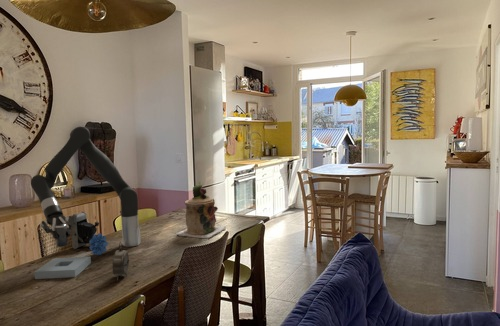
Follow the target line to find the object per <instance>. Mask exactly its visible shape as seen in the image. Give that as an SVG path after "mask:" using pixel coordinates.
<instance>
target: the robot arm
mask: <svg viewBox="0 0 500 326" xmlns="http://www.w3.org/2000/svg"><path fill="white" fill-rule="evenodd" d="M78 150H80V152H82V154H84V156H85V157H86V158H87V161H88V162H90V164H91V165H92V166H93V168H94V169H95V170H96V172H97V173H98V174H99V175H100V177H102V179H103V180H105V182H106V183H107V184H108V185H110V187H112V189H113V190H114V191H115V193H116V195H117V196H118V197H119V200H120V216H121V217H120V220H121V235H122V246H123V247H127V248H128V247H136V246H139V245H140V244H141V243H142V242H141V241H142V240H141V227H140V226H139V213H138V212H139V201H138V200H139V197H138V193H137V191H136V190H135V189H134V188H132V187H131V185H129V184H128V183H127V182H126V181H125V180H124V178H123V177H122V175H121V174H120V172H119V170H118V169H117V167H116V166H115V164H114V163H113V161H111V159H110V158H109V157H108V156H107V154H105V153H104V152H103V151H101V150H100V149H99V148H98V147H97V146H96V145H95V144H94V143H93V141H92V140H91V133H90V130H89V128H87V127H85V126H77V127H75V128H74V129H72V130H71V131H70V134H69V138H68V140H67V141H66V143H65V144H64V146H63V147H62V148H61V149H60V150H59V151H58V152H57V153H56V154H55V155H54V156H53V158H52V159H51V160H50V161H49V162H48V164H47V165H46V166H45V168H44V172H45V175H41V174H36V175H33V177H31V180H30V186H31V188H32V190H33V191H34V193H35V194H36V197H38V200H39V203H40V205H41V209H42V212H43V215H44V217H45V219H46V220H42V221H41V222H40V226H41V228H42V230H44V232H45V233H46V234H51V236H52V238H53V239H54V240H55V241H56V240H57V239H58V235H57V233H56V231H55V224H59V223H66V227H67V238H69V237H70V236H71V235H72V231H71V227H72V215H70V216H66V215H64V213H63V210H62V208H61V206H60V204H59V201H58V199H57V197H56V194H55V193H54V191H53V190H52V188H53V186H54V185H55V182H56V181H57V178H58V176H59V174H60V173H61V172H62V171H63V170H64V168H65V167H66V165H67V164H68V163H69V161H70V160H71V159H72V157H73V156H74V155H75V153H77V151H78ZM49 226H50V227H51V228H50V227H49Z"/></svg>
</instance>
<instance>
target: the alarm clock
mask: <svg viewBox="0 0 500 326" xmlns="http://www.w3.org/2000/svg"><path fill="white" fill-rule="evenodd" d="M121 244H122V241H119V242H118V245H119V246H118V247H119V249H118V250H117V249H116V251H115V252H114V254H113V260H112V273H113V275H114V276H115V277H116V282H118V281H119V277H123V276H126V277H128V275H127V272H128V269H129V262H130V259H129V258H130V257H129V252H128V251H127V250H124V249H123V250H122V246H121Z"/></svg>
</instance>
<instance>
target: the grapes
mask: <svg viewBox="0 0 500 326" xmlns="http://www.w3.org/2000/svg"><path fill="white" fill-rule="evenodd" d="M89 243H90V244H89V250H90V251H92V252H91V253H92V255H97V256H101V255H102V254H103V253H105V252H106V251H107V247H108V244H109V242H108V241H107V236H105V235H103V234H102V233H97V234H94V235H93V237H92V239H91V240H90V242H89Z"/></svg>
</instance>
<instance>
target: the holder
mask: <svg viewBox="0 0 500 326" xmlns="http://www.w3.org/2000/svg"><path fill="white" fill-rule="evenodd" d="M91 263H92V259H91V256H73V257H72V256H71V257H54V258H52V259H50V260H49V261H48V262H46V263H45V264H44V265H42V266H40V267H39V268H38V269H36V270H35V271H34V272H33V274H34V279H35V280H42V279H63V278H64V279H65V278H76V277H77V276H78V275H79V274H80V273H81V272H83V271H84V270H85V269H86V268H87V267H89V266H90V265H91Z"/></svg>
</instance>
